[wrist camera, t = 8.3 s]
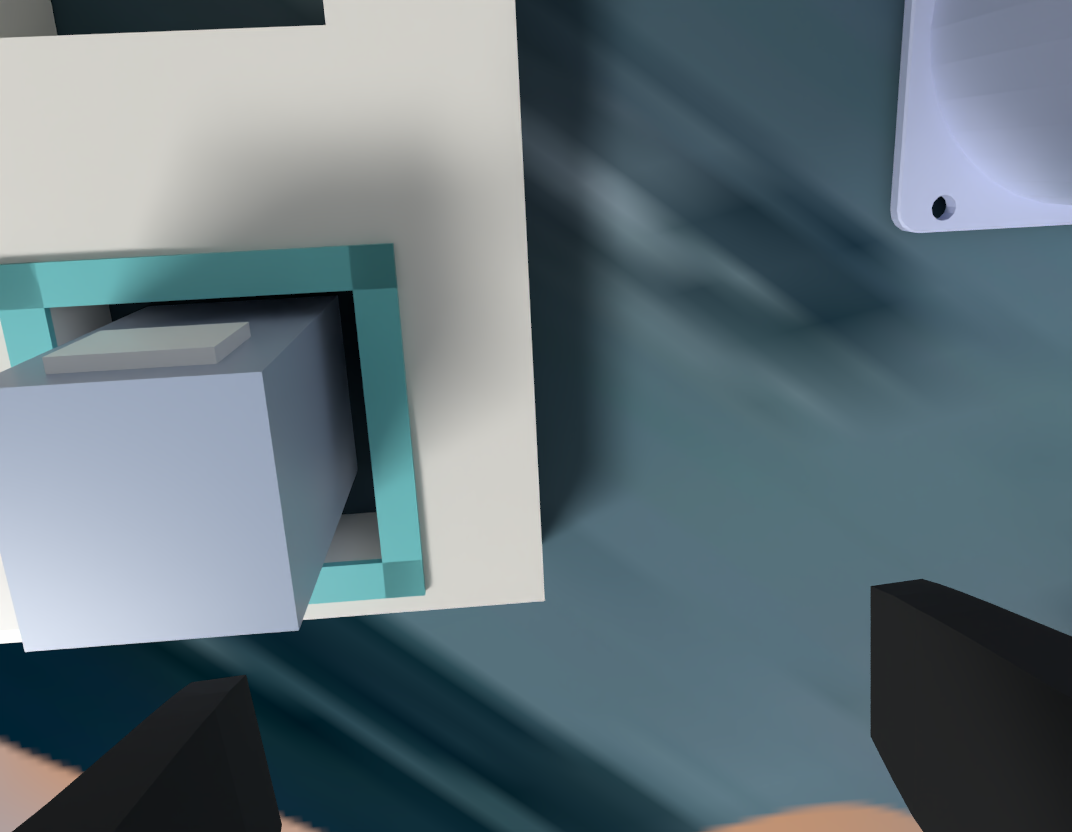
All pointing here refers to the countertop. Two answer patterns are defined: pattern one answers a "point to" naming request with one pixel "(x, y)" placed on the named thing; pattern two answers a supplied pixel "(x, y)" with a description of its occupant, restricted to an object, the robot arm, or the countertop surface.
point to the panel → (306, 247)
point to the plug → (175, 473)
